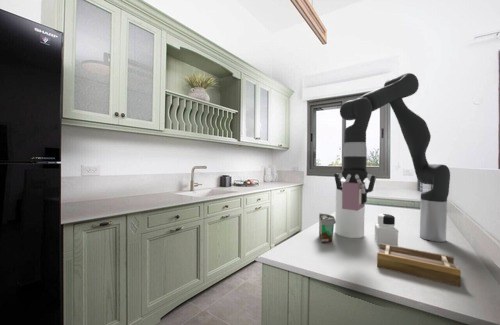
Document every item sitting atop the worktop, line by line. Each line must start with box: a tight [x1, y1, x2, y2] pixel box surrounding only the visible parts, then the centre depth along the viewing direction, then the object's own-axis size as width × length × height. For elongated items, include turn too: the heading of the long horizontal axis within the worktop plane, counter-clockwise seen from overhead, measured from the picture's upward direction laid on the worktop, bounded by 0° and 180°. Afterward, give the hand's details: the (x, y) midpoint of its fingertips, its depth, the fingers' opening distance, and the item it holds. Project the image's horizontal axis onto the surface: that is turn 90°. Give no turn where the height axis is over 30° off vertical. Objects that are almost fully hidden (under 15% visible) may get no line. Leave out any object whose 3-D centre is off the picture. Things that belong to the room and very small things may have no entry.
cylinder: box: [334, 178, 366, 239], centre depth 108 cm, size 12×12×25 cm
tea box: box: [342, 181, 366, 211], centre depth 82 cm, size 10×5×9 cm, turn 142°
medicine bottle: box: [374, 213, 399, 246], centre depth 95 cm, size 7×7×12 cm
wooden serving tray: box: [376, 243, 462, 287], centre depth 73 cm, size 11×20×4 cm, turn 56°
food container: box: [318, 212, 336, 244], centre depth 99 cm, size 12×6×10 cm, turn 168°
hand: (354, 202), depth 82 cm, fingers closed on tea box, 5 cm apart
